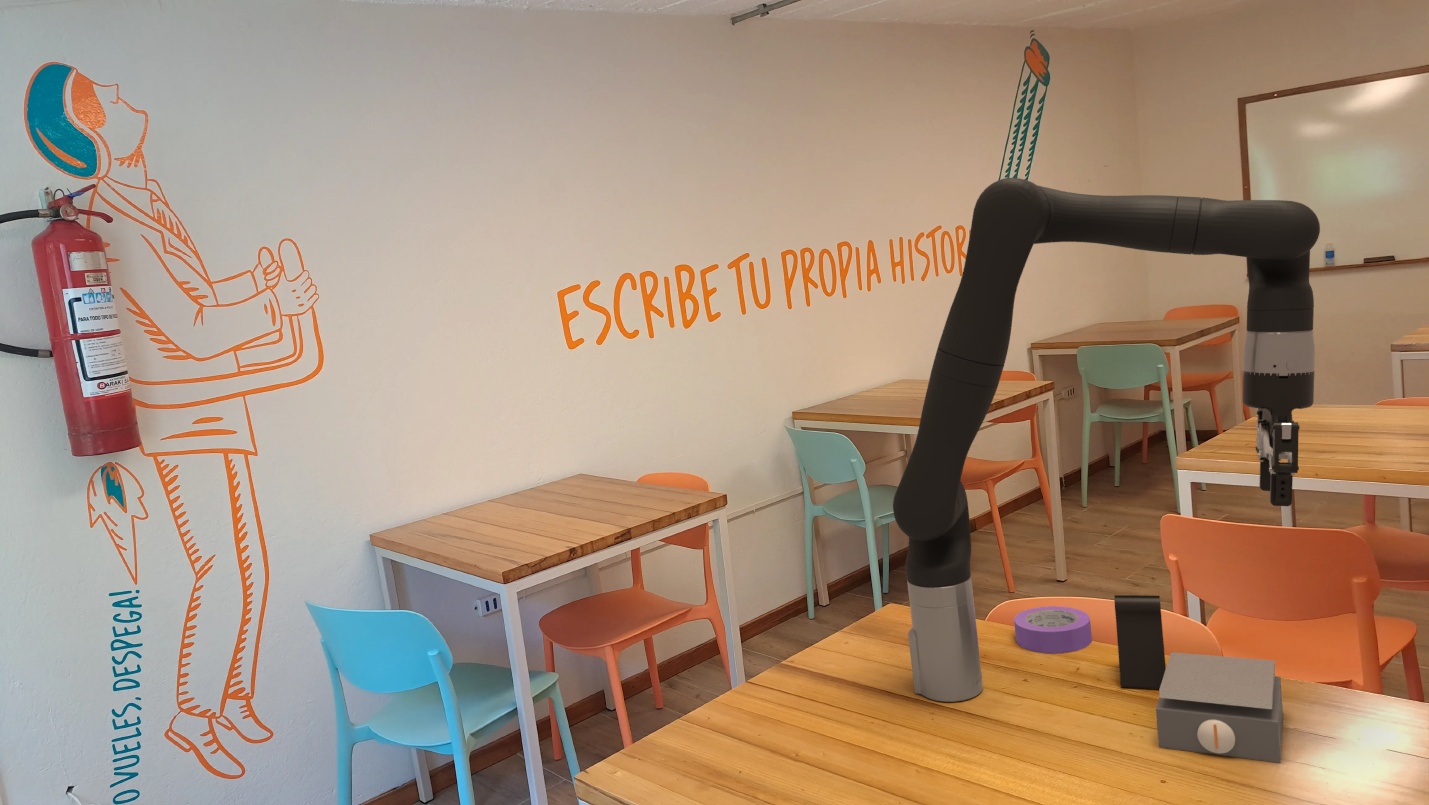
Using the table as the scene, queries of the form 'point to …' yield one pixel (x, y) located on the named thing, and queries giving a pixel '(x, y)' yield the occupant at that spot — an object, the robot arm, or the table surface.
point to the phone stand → (1140, 641)
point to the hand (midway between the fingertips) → (1274, 497)
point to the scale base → (1222, 727)
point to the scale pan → (1219, 680)
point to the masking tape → (1053, 629)
